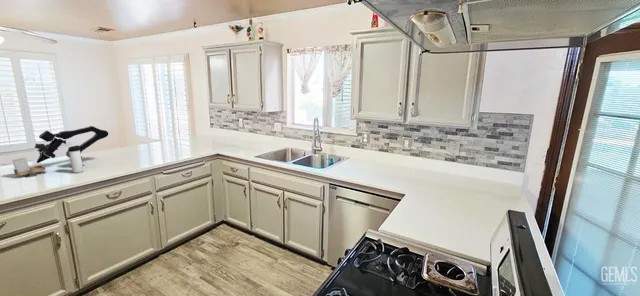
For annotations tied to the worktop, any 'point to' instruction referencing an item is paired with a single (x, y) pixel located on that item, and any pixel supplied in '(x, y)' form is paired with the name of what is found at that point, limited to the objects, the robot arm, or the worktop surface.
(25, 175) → the pivot stand
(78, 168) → the travel mug
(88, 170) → the worktop surface
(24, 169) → the block
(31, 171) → the walnut beam
